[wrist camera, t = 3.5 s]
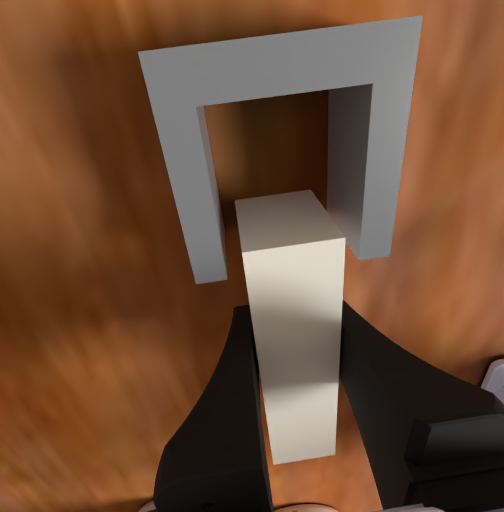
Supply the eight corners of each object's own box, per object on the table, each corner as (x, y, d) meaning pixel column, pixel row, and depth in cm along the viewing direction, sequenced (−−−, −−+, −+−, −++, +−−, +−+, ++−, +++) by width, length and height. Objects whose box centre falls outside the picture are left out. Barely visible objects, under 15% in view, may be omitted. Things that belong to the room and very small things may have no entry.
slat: (310, 189, 13) (345, 237, 9) (313, 383, 19) (334, 454, 16) (234, 200, 13) (242, 252, 9) (262, 391, 19) (273, 464, 16)
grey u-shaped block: (361, 27, 10) (422, 15, 7) (350, 211, 13) (389, 256, 10) (161, 53, 10) (137, 51, 7) (200, 233, 13) (196, 284, 10)
